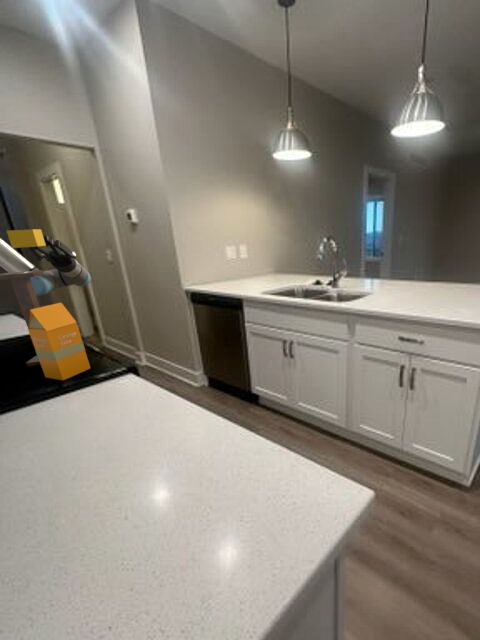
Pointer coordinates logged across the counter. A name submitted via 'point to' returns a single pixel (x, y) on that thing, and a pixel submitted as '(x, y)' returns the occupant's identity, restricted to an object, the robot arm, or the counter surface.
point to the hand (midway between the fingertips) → (31, 233)
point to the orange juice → (57, 342)
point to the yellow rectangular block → (26, 238)
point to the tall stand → (25, 297)
